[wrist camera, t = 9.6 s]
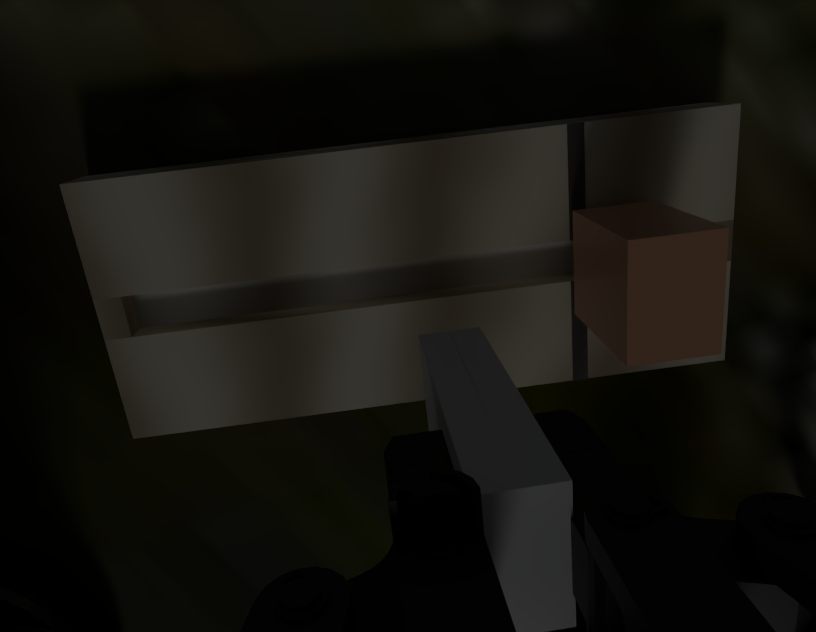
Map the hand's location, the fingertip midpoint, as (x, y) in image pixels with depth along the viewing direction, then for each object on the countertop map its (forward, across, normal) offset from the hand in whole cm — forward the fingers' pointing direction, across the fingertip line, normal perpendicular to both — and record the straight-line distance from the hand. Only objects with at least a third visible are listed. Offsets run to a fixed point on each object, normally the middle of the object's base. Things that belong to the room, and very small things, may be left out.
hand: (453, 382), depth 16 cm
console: (+11, 0, 0) cm, 11 cm away
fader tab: (+10, +7, 0) cm, 12 cm away
